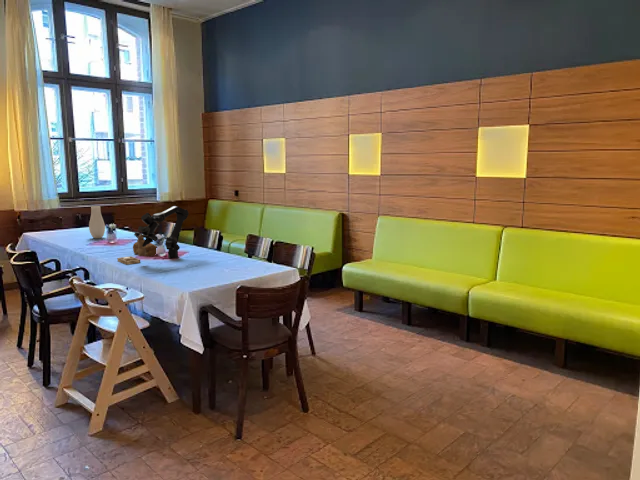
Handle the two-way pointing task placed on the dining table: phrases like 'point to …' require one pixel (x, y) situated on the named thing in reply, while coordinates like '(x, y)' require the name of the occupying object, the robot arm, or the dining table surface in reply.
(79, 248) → the dining table surface
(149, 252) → the bread
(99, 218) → the vase
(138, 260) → the caddy
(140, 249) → the pepper mill
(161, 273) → the dining table surface
